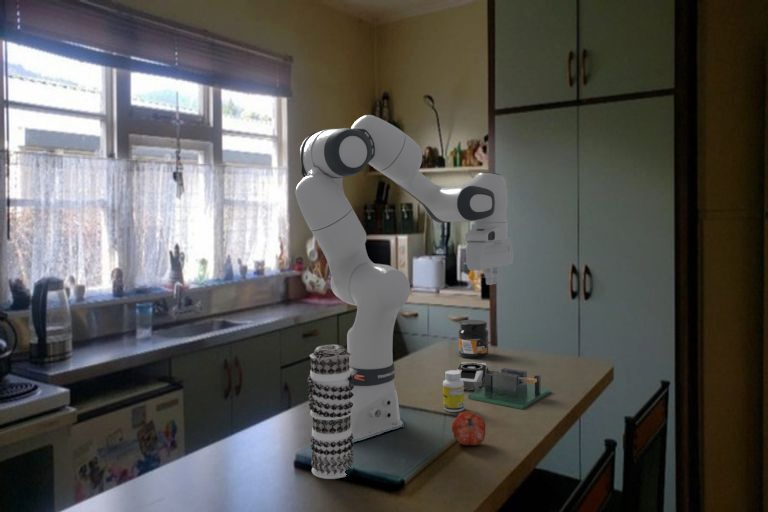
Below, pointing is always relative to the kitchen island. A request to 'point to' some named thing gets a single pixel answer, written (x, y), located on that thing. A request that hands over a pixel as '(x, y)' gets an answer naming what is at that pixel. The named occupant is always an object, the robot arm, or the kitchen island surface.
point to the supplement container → (473, 339)
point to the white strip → (527, 379)
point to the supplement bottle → (453, 391)
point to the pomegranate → (469, 428)
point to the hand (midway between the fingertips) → (491, 284)
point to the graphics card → (472, 374)
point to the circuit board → (509, 389)
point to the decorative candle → (330, 411)
